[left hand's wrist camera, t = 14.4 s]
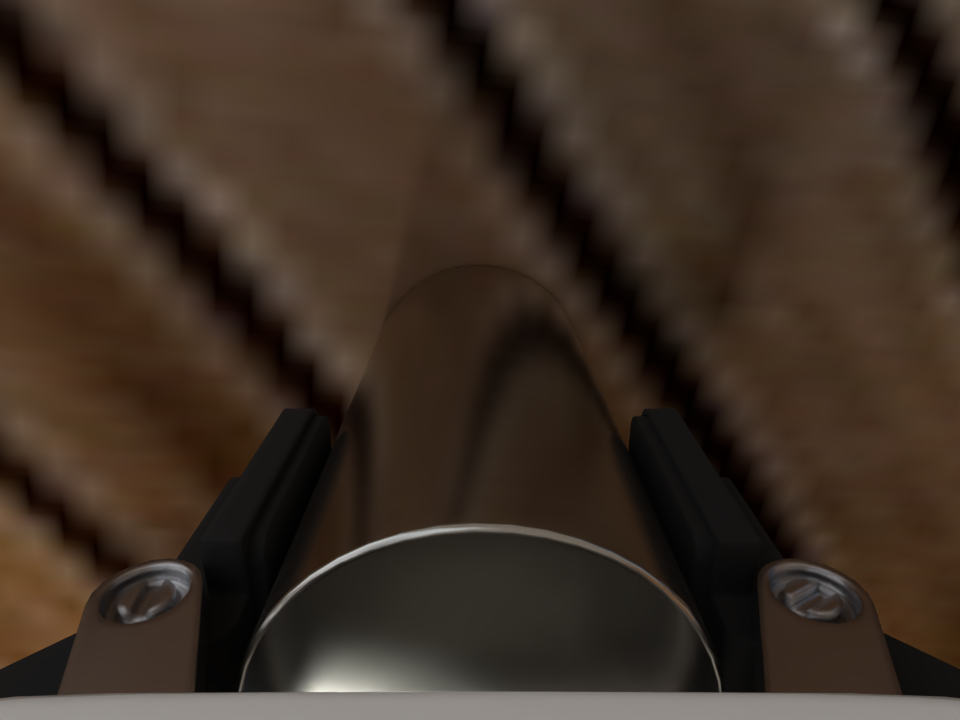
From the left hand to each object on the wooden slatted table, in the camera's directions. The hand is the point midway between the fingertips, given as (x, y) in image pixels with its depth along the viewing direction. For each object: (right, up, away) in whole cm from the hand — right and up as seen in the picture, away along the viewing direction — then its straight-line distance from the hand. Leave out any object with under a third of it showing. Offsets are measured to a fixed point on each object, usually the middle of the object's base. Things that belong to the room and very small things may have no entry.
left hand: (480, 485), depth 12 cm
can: (0, +2, +6) cm, 6 cm away
